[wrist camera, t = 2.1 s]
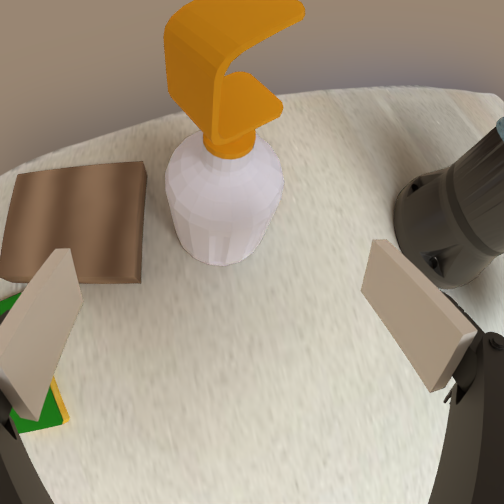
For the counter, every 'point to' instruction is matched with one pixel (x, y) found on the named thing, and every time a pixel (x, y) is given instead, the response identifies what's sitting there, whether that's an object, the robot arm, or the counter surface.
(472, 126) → the counter surface
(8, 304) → the dish sponge
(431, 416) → the counter surface
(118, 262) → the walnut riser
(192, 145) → the soap bottle
